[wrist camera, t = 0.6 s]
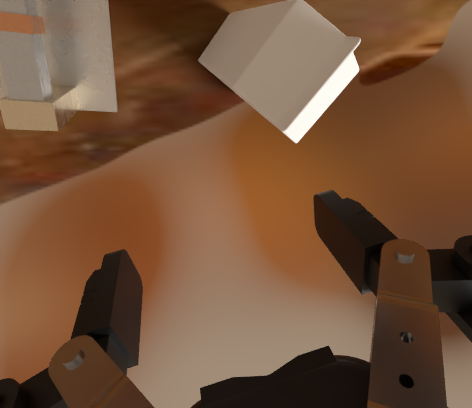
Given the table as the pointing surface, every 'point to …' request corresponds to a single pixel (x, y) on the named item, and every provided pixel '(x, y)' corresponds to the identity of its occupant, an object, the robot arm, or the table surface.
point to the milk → (283, 62)
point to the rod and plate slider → (54, 61)
